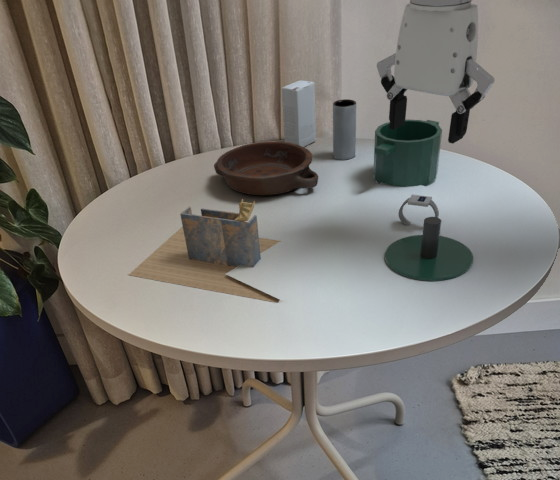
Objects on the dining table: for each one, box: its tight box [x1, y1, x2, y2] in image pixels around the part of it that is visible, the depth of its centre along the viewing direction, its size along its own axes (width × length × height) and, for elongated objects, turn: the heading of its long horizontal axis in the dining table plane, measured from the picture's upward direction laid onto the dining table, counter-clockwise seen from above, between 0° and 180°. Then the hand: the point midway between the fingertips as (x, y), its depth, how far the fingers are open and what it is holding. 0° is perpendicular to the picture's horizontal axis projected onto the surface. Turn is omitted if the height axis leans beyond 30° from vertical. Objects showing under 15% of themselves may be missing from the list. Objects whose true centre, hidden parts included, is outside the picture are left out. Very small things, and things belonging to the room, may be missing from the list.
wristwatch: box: [398, 194, 440, 226], centre depth 91 cm, size 6×3×5 cm, turn 66°
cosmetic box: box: [281, 79, 317, 148], centre depth 121 cm, size 6×4×12 cm
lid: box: [384, 216, 474, 282], centre depth 83 cm, size 13×13×7 cm
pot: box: [372, 119, 443, 188], centre depth 106 cm, size 12×17×8 cm
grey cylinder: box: [332, 98, 357, 161], centre depth 115 cm, size 4×4×10 cm
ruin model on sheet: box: [128, 198, 282, 303], centre depth 86 cm, size 25×16×10 cm, turn 67°
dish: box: [213, 140, 319, 196], centre depth 109 cm, size 18×22×5 cm
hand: (425, 133), depth 82 cm, fingers open, 9 cm apart
